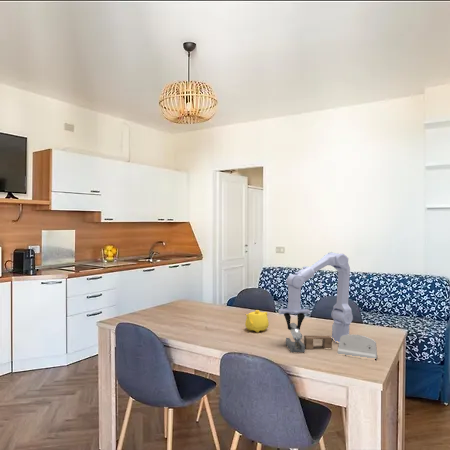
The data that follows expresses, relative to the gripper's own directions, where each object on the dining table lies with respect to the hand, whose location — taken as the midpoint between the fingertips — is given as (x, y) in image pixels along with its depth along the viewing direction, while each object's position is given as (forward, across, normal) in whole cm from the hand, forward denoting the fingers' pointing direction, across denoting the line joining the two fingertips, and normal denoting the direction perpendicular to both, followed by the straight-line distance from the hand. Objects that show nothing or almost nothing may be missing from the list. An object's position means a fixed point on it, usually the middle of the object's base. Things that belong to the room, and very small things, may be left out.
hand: (293, 329), depth 181 cm
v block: (+8, 0, -3) cm, 9 cm away
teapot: (+8, -14, +27) cm, 32 cm away
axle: (+2, 0, -2) cm, 3 cm away
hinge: (+8, +26, -12) cm, 30 cm away
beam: (+8, +11, -2) cm, 14 cm away
